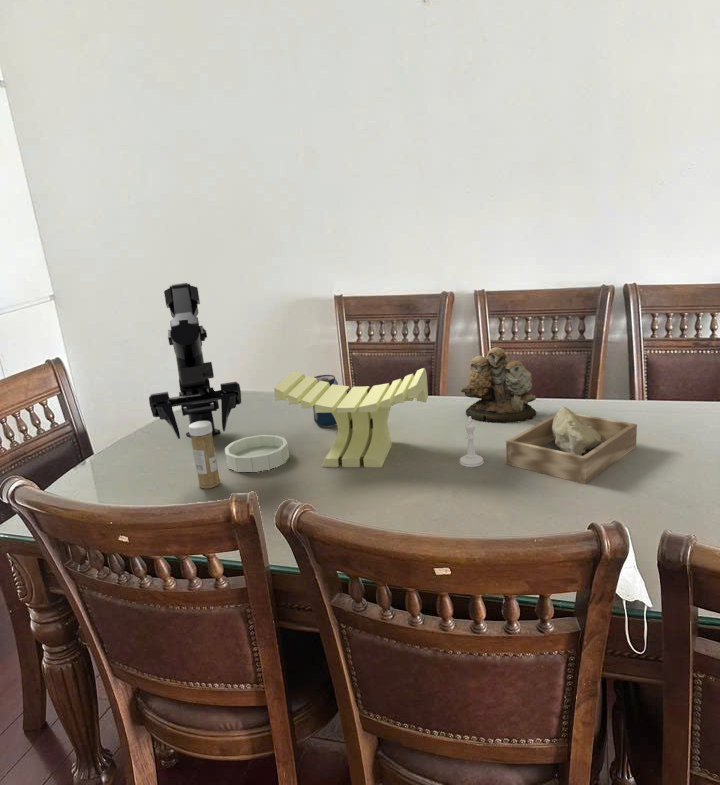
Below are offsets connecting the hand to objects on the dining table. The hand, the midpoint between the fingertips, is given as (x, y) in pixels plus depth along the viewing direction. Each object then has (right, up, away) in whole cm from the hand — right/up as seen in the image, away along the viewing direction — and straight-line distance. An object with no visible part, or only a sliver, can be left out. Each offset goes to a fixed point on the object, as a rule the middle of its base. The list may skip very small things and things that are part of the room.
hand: (201, 434), depth 139 cm
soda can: (+25, +1, +32) cm, 40 cm away
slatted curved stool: (+33, -5, +10) cm, 35 cm away
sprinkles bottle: (+2, -11, 0) cm, 11 cm away
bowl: (+10, -7, +11) cm, 16 cm away
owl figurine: (+67, +3, +27) cm, 72 cm away
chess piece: (+56, -6, 0) cm, 56 cm away
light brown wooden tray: (+76, -4, -1) cm, 76 cm away
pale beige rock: (+78, -5, -1) cm, 78 cm away
